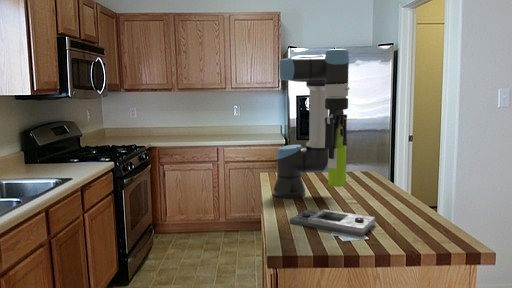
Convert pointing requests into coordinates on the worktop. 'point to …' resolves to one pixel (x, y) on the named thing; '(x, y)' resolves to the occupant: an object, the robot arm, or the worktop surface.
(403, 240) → the worktop surface
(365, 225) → the upper link
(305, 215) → the lower link
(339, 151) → the soap dispenser
